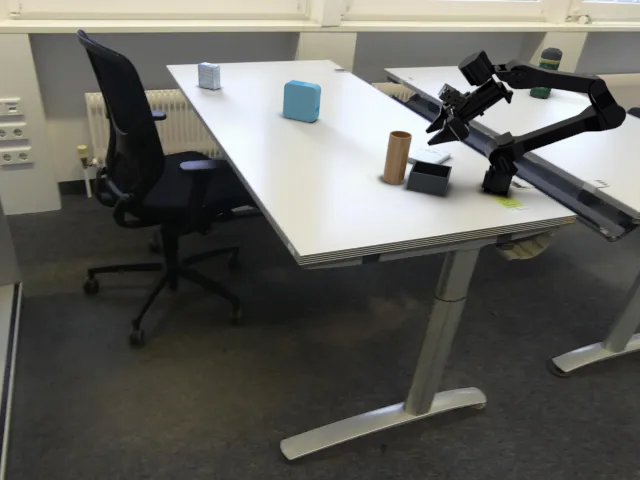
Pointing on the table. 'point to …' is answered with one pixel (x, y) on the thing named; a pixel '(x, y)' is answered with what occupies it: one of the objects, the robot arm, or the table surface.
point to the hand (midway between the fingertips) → (427, 138)
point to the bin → (429, 178)
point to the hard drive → (429, 155)
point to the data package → (301, 100)
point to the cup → (397, 157)
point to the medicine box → (209, 75)
